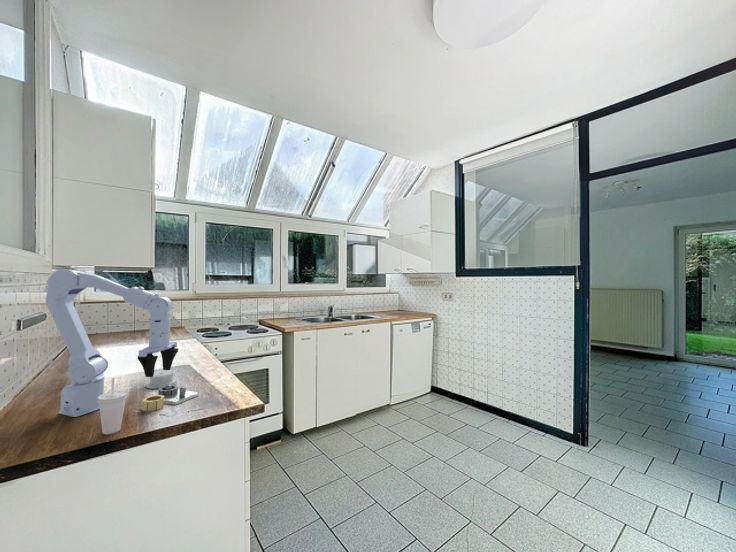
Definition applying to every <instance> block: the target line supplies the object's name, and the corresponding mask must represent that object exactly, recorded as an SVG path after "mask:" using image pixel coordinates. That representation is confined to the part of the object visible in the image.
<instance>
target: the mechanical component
mask: <svg viewBox="0 0 736 552" xmlns="http://www.w3.org/2000/svg"><path fill="white" fill-rule="evenodd" d="M177 380H178V379H177V378H176V377H174V372H172V371H168V370H165V371H158V372H154V375H153V377H149V381H147V382H146V383H145V388H147V389H151V390H153V389H155V390H157V389H158V390H159V388H161V387H164V386H166V385H168V384H171V385H176V384H177V383H178V381H177Z"/></svg>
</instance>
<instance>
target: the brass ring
mask: <svg viewBox="0 0 736 552" xmlns="http://www.w3.org/2000/svg"><path fill="white" fill-rule="evenodd" d="M164 399H165V396H163V395H158V394H156V395H155V394H154V395H150V396H147V397H145V398H143V399H142V401H141V403H142V404H141V411H142V412H145V413H146V412H156V411H159V410H161V409H164V407H165V403H164Z"/></svg>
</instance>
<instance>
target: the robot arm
mask: <svg viewBox="0 0 736 552" xmlns="http://www.w3.org/2000/svg"><path fill="white" fill-rule="evenodd" d="M46 284H47V286H48V287H47V291H46V297H45V304H46V306H47V308H48V310H49V312H50V314H51V317H52V319H53V321H54V323H55V325H56V326H57V329H58V332H59V334H60V335H61V337H62V340H63V342H64V344H65V346H66V348H67V351H68V352H69V354H70V355H69V359H68V362H67V365H68V367H69V371H68V376H69V378H70V380H71V381H72V383H70V384H68V385H66V386H63V388H62V390H61V392H60V404H59V406H60V407H59V409H60V411H58V414H60V415H64V416H67V417H73V418H77V417H80V416H83V415H85V414H89V413H92V412H94V411H97V410H100V408H99V403H98V402H97V399H98V397H99V396H100V395H102V394H105V375H104V372H106V371H107V370H108V367H109V361H108V360H107V359H106V357H104V356H103V355H101V353H100V352H101V351H99V350H98V349H96V348H95V347H94V346H93V345H92V343H91V340H90V338H89V336H88V333H87V332H86V329H85V327H84V324H83V323H82V321H81V319H80V316H79V314H78V312H77V310H76V307H75V305H74V303H73V301H74V300H75V299H76V298H77V296H78V295H79V294H80V293H81V292H82V291H84V290H86V289H87V288H95V289H98V290H101V291H104V292H107V293H110V294H114V295H116V296H119V297H122V299H123V301H124V303H127V304H129V305H131V306H135V307H137V308H140V309H143V310H145V311H146V310H147V311H148V312H149V314H150V315H149V332H148V334H149V335H148V346H146V347H145V348H142V349H140V350H138V355H137V360H138V362H139V363H140V364H141V366H142V368H143V372H144V375H145V378H150V377H153V375H154V374H155V368H156V367H155V366H156V362H157V360H158V358H159V356H158V355H154V354H156V353H160V355H161V359H162V371H170V370H171V368H172V365H173V362H174V359H175V357H176V356H177V353H178V352H179V348H177V347H178V342H177V341H170V336H171V335H170V334H171V333H170V332H171V310H172V309H173V302H172V300H171V299H170V298H168V297H167V296H166V295H165V296H164V295H163V296H160V293H157V292H156V293H153V292H150V291H148V290H145V287H143V286H138V287H137V286H132V287H127V286H125V285H122V284H120V283H118V282H115V281H113V280H110V279H108V278H106V277H103V276H102V275H99V274H96V273H93V272H88V271H85V270H81V269H77V270H74V269H73V270H72V269H66V268H65V269H58V270H55V271H54V272H53V273H52V274H51V275H50V276H49V277H48V278H47V280H46Z"/></svg>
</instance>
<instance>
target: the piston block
mask: <svg viewBox="0 0 736 552" xmlns="http://www.w3.org/2000/svg"><path fill="white" fill-rule="evenodd" d="M157 395H163V396H165V399H164V404H166V405H167V404H168V405H173V406H177V405H179V404H182V403H184V402H186V401H189V400H191V399H193V398H195V397H198V396H199V392H197V391H189V390H187V388H186V386H180V387H179V385H176V384H174V385H171V384H168V385H166V386H164V387H161V388H158V393H157Z"/></svg>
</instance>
